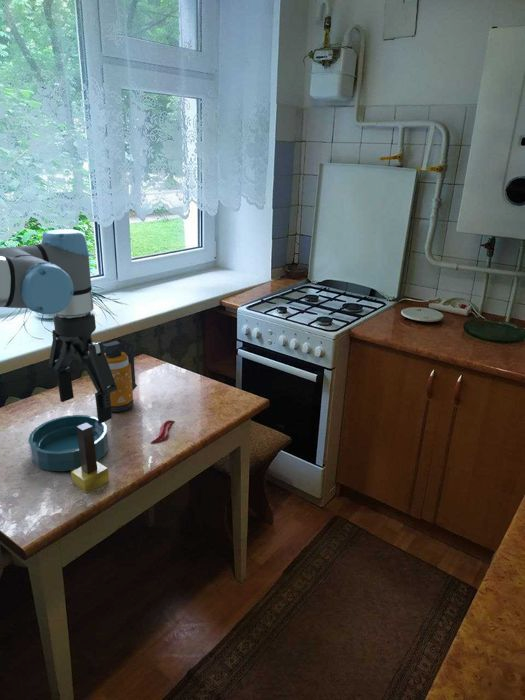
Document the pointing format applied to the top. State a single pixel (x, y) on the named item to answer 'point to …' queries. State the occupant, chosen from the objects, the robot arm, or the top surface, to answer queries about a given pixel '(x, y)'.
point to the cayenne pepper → (163, 431)
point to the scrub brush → (88, 462)
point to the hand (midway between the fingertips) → (85, 409)
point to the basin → (64, 442)
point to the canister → (121, 373)
